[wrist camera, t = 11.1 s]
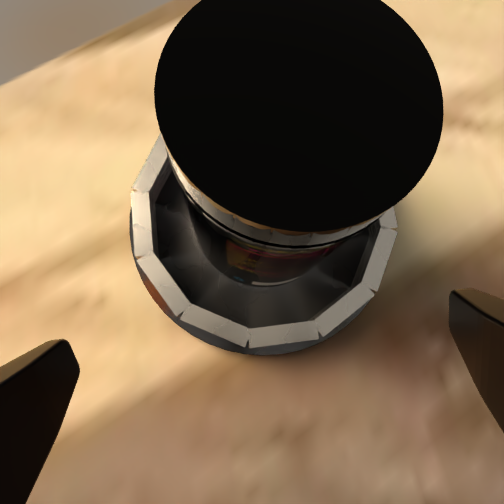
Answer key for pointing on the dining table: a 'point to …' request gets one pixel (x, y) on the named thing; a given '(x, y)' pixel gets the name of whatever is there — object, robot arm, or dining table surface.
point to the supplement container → (293, 127)
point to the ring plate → (239, 295)
